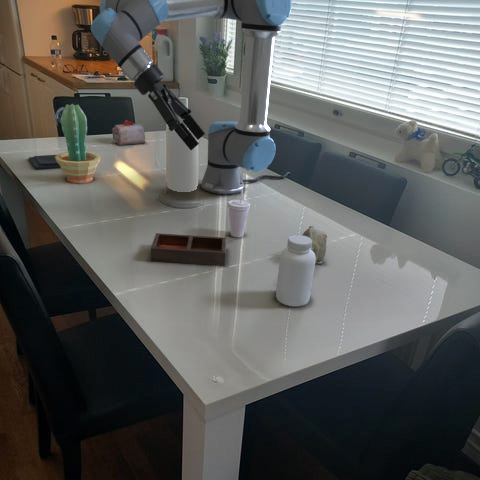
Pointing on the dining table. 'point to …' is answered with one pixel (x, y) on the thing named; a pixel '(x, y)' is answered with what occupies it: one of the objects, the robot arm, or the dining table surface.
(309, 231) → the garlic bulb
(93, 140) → the dining table surface
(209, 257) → the tray
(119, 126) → the food item
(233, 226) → the smoothie
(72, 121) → the potted cactus
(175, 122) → the robot arm
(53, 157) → the wallet
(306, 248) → the pill bottle
